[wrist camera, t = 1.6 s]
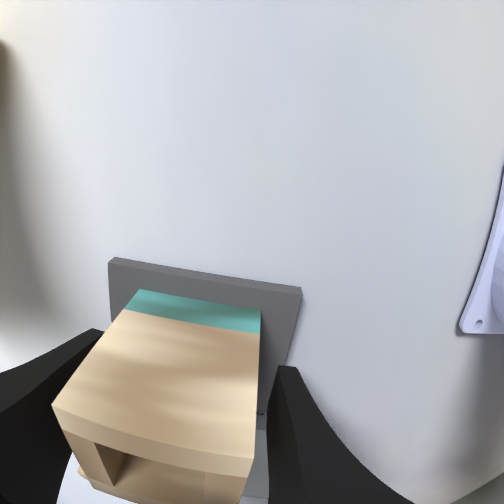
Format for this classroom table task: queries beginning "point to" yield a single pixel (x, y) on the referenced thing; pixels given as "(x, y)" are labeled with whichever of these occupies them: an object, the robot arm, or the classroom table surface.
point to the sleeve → (167, 402)
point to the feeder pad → (223, 292)
